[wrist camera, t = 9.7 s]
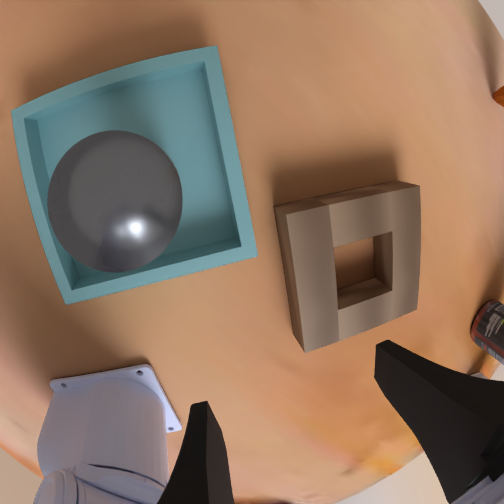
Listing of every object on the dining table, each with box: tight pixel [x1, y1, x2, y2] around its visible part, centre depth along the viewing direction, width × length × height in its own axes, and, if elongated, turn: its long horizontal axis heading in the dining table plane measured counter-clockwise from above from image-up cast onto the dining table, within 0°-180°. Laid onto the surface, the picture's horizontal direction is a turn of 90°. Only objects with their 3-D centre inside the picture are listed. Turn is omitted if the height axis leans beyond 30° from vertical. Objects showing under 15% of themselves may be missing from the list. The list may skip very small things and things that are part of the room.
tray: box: [11, 46, 258, 305], centre depth 16 cm, size 12×12×2 cm
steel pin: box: [47, 130, 183, 273], centre depth 13 cm, size 4×4×9 cm
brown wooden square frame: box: [273, 181, 421, 353], centre depth 21 cm, size 10×10×2 cm
